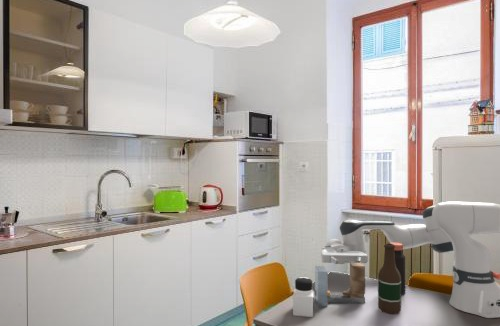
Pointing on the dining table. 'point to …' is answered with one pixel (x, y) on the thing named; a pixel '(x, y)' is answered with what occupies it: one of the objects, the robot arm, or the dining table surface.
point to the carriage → (356, 281)
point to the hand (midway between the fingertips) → (348, 262)
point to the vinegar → (400, 264)
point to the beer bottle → (389, 283)
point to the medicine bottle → (303, 298)
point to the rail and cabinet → (321, 290)
